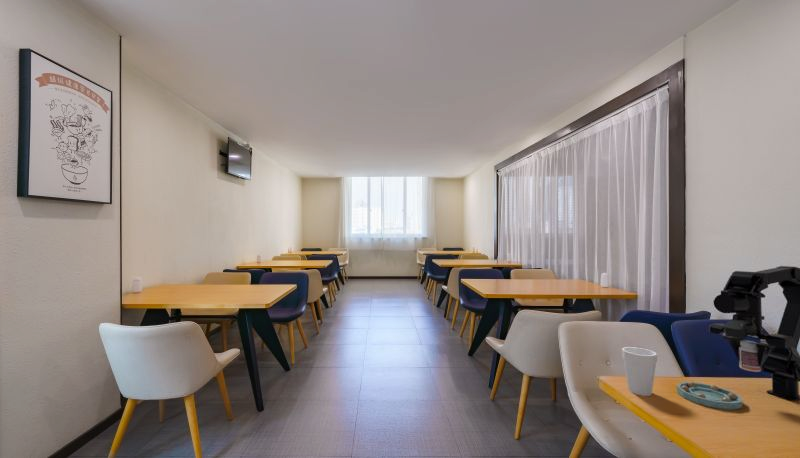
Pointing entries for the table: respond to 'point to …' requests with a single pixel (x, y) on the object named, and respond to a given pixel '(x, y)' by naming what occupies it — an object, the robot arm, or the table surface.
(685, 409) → the table surface
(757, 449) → the table surface
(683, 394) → the tray
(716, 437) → the table surface
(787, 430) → the table surface
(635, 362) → the foam cup
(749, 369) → the pill bottle
